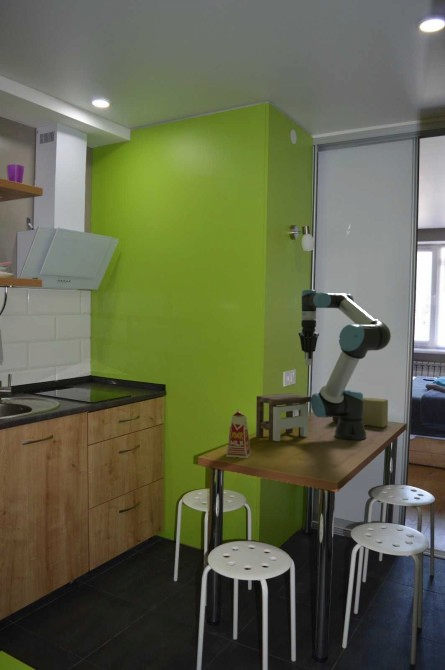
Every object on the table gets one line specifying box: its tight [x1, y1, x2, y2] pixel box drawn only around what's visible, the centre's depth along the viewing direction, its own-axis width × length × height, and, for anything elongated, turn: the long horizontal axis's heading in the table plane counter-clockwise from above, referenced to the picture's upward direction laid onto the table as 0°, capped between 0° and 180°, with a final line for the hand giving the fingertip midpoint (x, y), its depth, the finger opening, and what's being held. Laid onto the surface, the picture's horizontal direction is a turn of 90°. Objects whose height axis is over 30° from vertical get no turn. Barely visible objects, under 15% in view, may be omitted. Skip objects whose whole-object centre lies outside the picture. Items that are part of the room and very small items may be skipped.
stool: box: [255, 392, 312, 442], centre depth 261 cm, size 16×22×20 cm
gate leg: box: [272, 402, 309, 442], centre depth 256 cm, size 2×20×16 cm, turn 126°
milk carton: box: [225, 408, 251, 459], centre depth 225 cm, size 9×9×20 cm
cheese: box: [363, 397, 389, 428], centre depth 295 cm, size 22×10×15 cm, turn 57°
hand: (308, 365), depth 275 cm, fingers closed
